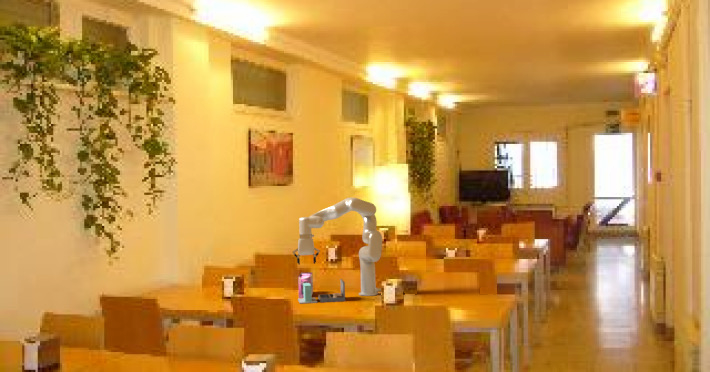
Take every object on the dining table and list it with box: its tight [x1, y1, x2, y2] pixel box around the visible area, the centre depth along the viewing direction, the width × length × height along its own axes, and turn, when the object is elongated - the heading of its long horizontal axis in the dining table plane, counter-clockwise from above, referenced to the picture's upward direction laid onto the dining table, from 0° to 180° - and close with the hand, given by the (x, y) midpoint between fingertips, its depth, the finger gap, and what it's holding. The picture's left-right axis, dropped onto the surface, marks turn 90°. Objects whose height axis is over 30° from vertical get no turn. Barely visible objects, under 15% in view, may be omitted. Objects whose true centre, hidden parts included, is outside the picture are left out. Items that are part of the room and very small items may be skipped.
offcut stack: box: [332, 292, 343, 298], centre depth 515 cm, size 4×12×4 cm, turn 14°
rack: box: [317, 278, 346, 303], centre depth 515 cm, size 15×15×12 cm
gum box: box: [298, 272, 314, 299], centre depth 537 cm, size 24×8×14 cm, turn 179°
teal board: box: [303, 283, 313, 302], centre depth 512 cm, size 4×12×10 cm, turn 8°
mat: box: [297, 297, 318, 305], centre depth 513 cm, size 11×16×1 cm
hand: (306, 264), depth 512 cm, fingers open, 9 cm apart
